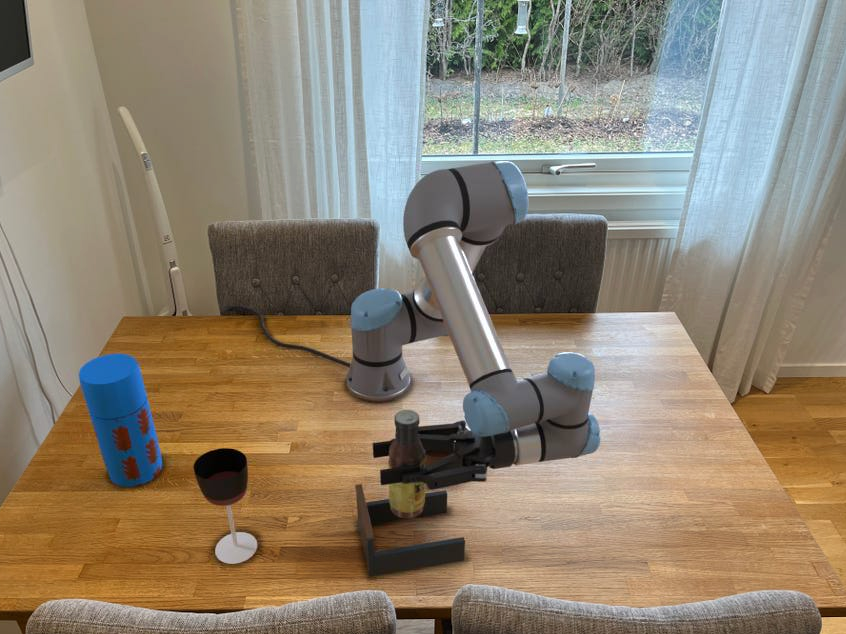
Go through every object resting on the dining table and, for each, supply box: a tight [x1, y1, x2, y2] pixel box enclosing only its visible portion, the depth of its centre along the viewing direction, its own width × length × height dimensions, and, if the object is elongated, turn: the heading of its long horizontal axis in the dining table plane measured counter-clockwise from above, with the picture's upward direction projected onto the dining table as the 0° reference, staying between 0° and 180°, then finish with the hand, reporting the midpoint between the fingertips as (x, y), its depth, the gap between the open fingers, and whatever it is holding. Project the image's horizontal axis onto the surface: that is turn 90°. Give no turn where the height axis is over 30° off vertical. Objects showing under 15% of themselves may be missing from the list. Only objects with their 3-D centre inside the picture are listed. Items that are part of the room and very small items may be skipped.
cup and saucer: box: [424, 441, 456, 482], centre depth 145 cm, size 12×12×6 cm
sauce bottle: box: [388, 409, 426, 520], centre depth 120 cm, size 6×6×20 cm
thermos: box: [78, 353, 163, 488], centre depth 141 cm, size 11×11×25 cm
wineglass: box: [193, 447, 258, 565], centre depth 124 cm, size 8×9×20 cm
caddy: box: [354, 483, 466, 578], centre depth 128 cm, size 17×13×10 cm
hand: (377, 463), depth 119 cm, fingers closed on sauce bottle, 6 cm apart
